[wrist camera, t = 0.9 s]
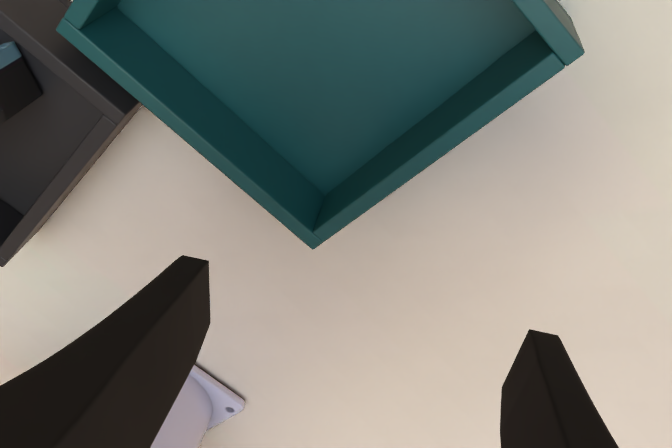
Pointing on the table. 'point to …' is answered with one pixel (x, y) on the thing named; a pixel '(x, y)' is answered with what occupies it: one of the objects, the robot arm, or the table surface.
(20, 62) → the push button
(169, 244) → the table surface
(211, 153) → the box
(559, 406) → the robot arm
